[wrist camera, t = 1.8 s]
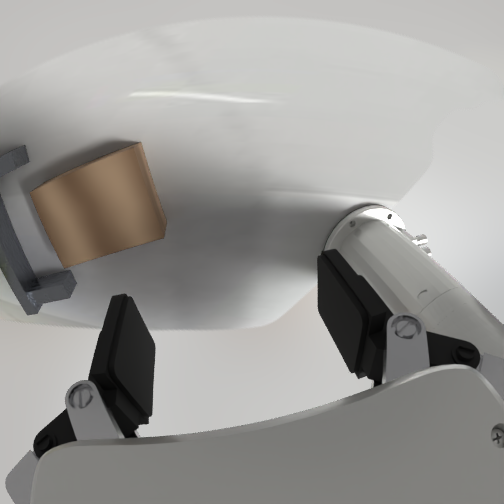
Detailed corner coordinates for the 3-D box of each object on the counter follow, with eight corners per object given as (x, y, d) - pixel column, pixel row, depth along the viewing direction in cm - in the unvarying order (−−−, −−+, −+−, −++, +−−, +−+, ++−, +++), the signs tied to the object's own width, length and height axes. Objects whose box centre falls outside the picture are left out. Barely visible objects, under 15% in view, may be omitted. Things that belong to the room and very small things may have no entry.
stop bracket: (23, 136, 21) (6, 142, 18) (80, 289, 32) (72, 307, 29) (-21, 162, 21) (-37, 170, 18) (36, 298, 31) (27, 315, 28)
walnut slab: (141, 141, 25) (133, 147, 22) (167, 221, 30) (164, 237, 27) (46, 181, 25) (29, 192, 21) (75, 250, 29) (64, 268, 26)
